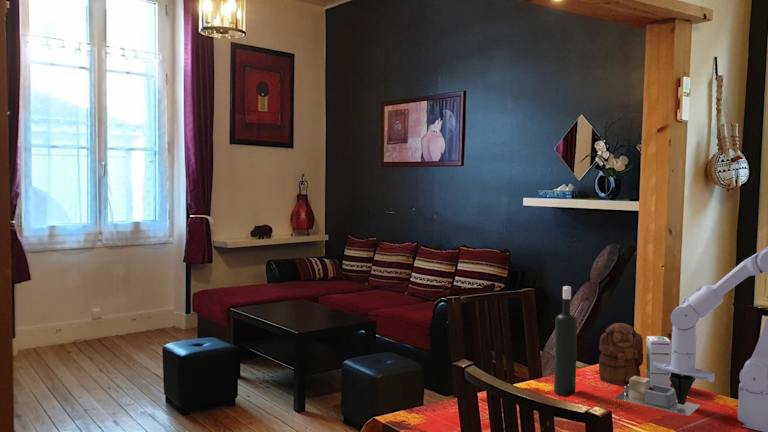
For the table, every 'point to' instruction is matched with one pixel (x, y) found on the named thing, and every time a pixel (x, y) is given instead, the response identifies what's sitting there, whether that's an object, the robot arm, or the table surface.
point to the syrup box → (658, 359)
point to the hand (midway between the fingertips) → (681, 403)
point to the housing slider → (661, 395)
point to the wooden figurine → (620, 354)
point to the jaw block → (638, 387)
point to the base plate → (675, 407)
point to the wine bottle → (565, 348)
